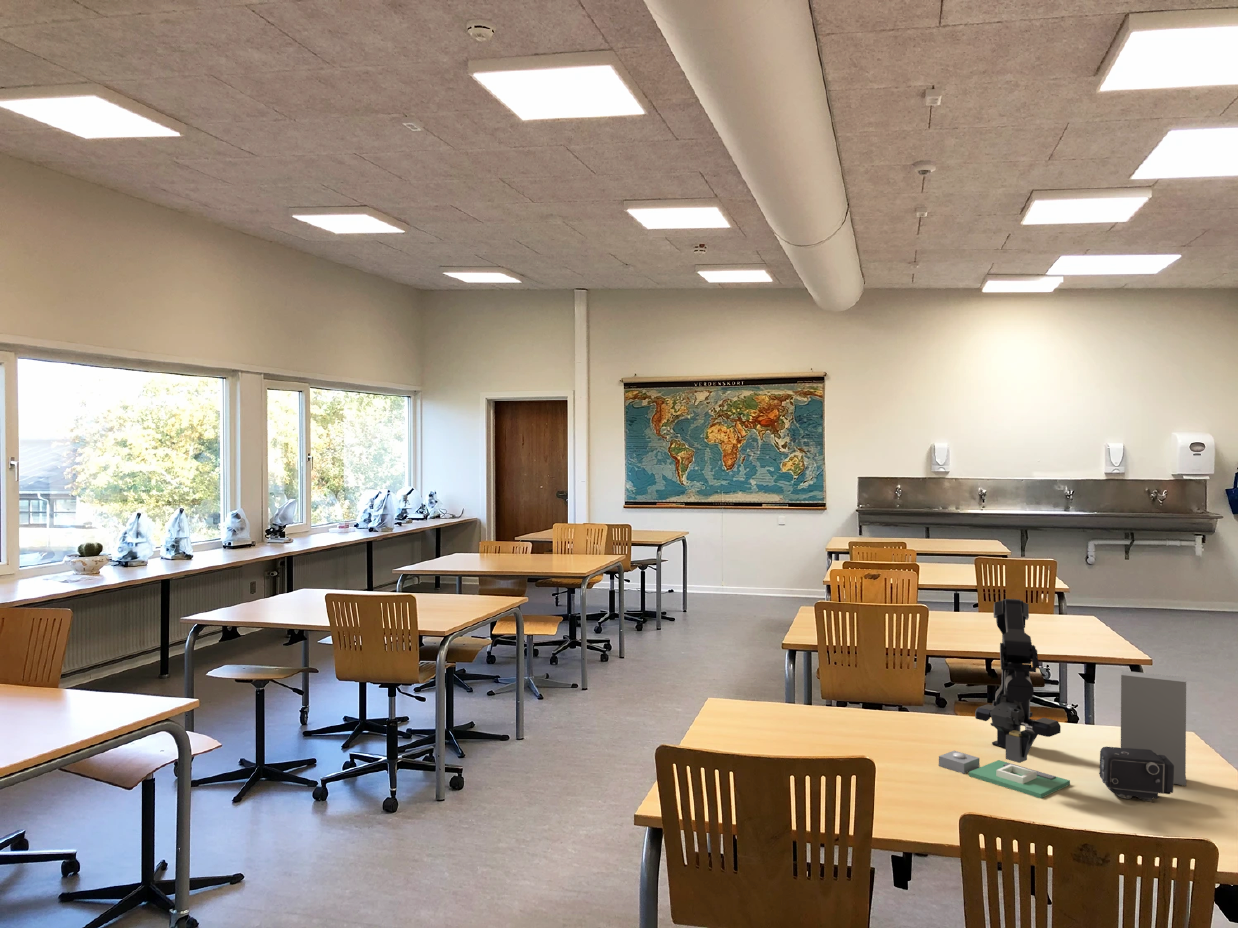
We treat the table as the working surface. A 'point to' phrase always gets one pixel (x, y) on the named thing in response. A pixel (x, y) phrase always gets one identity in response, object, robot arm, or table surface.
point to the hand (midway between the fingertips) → (1016, 755)
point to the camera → (1136, 772)
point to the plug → (1014, 746)
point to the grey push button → (959, 762)
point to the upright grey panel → (1155, 717)
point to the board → (1019, 778)
